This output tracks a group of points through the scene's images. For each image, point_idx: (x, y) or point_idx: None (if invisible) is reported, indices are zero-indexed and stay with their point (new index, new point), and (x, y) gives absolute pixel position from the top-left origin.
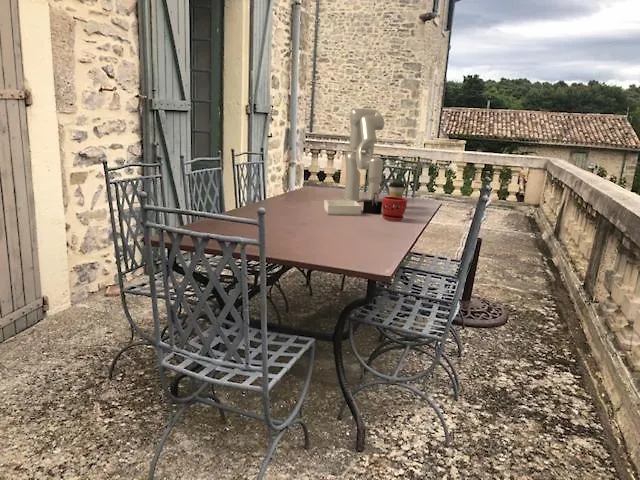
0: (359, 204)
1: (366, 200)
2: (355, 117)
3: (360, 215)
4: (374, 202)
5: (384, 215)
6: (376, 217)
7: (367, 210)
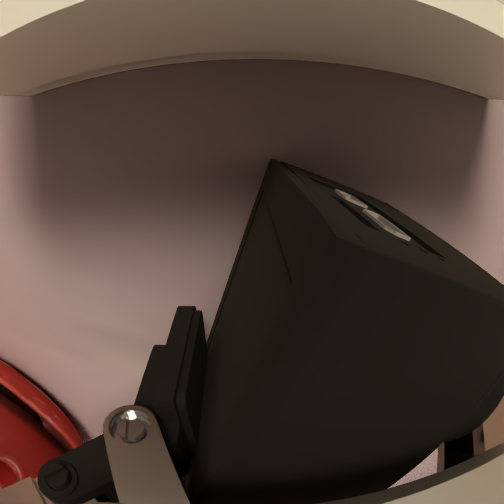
0: (65, 7)
1: (484, 370)
2: None
3: (28, 95)
4: (40, 474)
5: (2, 382)
6: (11, 304)
7: (243, 255)
